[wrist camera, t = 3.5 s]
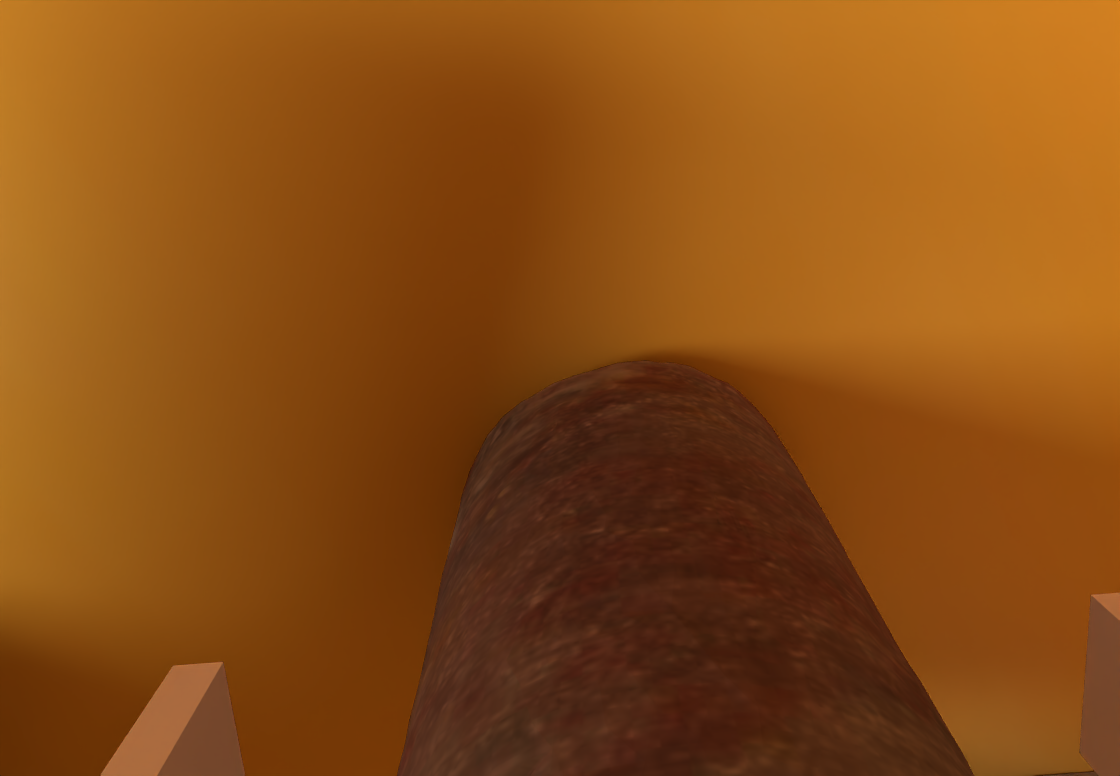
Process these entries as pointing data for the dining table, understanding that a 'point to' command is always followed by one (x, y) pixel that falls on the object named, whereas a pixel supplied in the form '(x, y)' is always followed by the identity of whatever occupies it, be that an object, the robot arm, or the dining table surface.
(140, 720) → the robot arm
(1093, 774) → the tray
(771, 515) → the brown cylinder
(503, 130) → the dining table surface
